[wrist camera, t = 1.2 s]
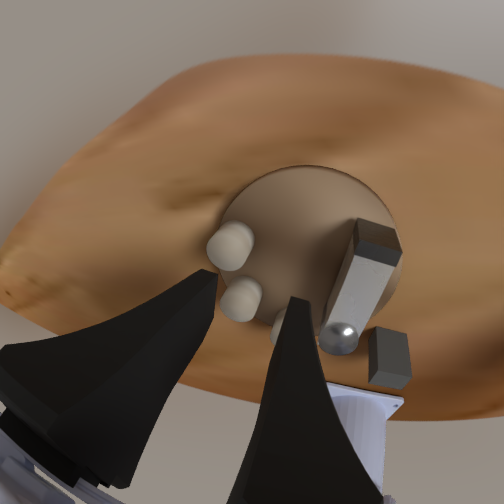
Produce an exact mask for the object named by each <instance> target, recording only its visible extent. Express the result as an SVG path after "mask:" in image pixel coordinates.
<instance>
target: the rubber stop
mask: <svg viewBox="0 0 504 504" xmlns="http://www.w3.org/2000/svg"><path fill="white" fill-rule="evenodd" d="M411 378H412V371H411V362H410V354H409V347H408V340H407V334H405V333H400V332H396V331H392V330H388V329H385V328H381V327H377V326H376V328H375V330H374V331H373V333H372V335H371V337H370V338H369V381H368V383H369V384H374V385H379V386H384V387H389V388H395V389H400V390H402V389H403V388H404V386H405V385H406V384H407V383H408V382H409V381H410V379H411Z"/></svg>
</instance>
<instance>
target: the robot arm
mask: <svg viewBox="0 0 504 504" xmlns="http://www.w3.org/2000/svg"><path fill="white" fill-rule="evenodd" d="M217 281H218V274H216V273H213V272H210V271H207V270H204V269H200V270H199V271H197V272H195V273H194V274H192V275H190V276H189V277H187V278H186V279H184V280H182V281H181V282H179V283H178V284H176V285H174V286H173V287H171V288H169V289H168V290H166V291H164V292H163V293H161V294H159V295H158V296H156V297H154V298H152V299H151V300H149V301H147V302H145V303H143V304H141V305H139V306H137V307H136V308H134V309H132V310H130V311H128V312H126V313H124V314H121V315H119V316H117V317H115V318H112V319H110V320H107V321H105V322H103V323H100V324H97V325H94V326H91V327H88V328H85V329H82V330H79V331H76V332H73V333H69V334H65V335H62V336H58V337H53V338H49V339H44V340H39V341H33V342H25V343H17V344H8V345H5V346H4V347H3V348H2V349H1V350H0V401H1V402H2V403H3V404H4V405H5V406H6V410H5V411H4V412H3V413H1V412H0V504H75V502H74V500H72V499H71V498H70V497H69V496H68V495H66V494H65V493H64V492H62V491H61V490H60V489H58V488H57V487H56V486H54V485H53V484H51V483H50V482H48V481H47V480H45V479H44V478H43V477H41V476H40V475H38V474H37V473H35V471H34V465H35V466H36V467H37V468H39V469H40V470H41V471H42V472H44V473H45V474H46V475H47V476H49V477H50V478H51V479H53V480H54V481H55V482H57V483H58V484H59V485H60V486H62V487H63V488H65V489H66V490H67V491H69V492H70V493H72V494H74V495H75V496H76V497H78V498H79V499H81V500H82V501H84V502H85V503H87V504H124V503H122V502H121V501H119V500H117V499H115V498H113V497H112V496H110V495H108V494H106V493H104V492H103V491H101V490H99V489H98V488H97V486H98V485H99V483H100V484H102V485H103V486H105V487H107V488H109V487H110V485H112V486H114V487H116V488H118V489H124V488H127V487H129V486H130V483H131V481H132V478H133V475H134V473H135V470H136V467H137V465H138V462H139V460H140V457H141V455H142V453H143V450H144V448H145V446H146V443H147V441H148V439H149V436H150V434H151V432H152V430H153V428H154V425H155V423H156V421H157V419H158V417H159V415H160V413H161V410H162V409H163V406H164V404H165V402H166V400H167V398H168V396H169V395H170V393H171V391H172V389H173V388H174V386H175V385H176V383H177V381H178V380H179V378H180V377H181V375H182V374H183V372H184V370H185V369H186V367H187V366H188V364H189V363H190V361H191V359H192V358H193V356H194V355H195V353H196V351H197V350H198V348H199V347H200V345H201V343H202V342H203V340H204V338H205V335H206V333H207V331H208V329H209V327H210V325H211V322H212V320H213V318H214V309H215V299H216V290H217ZM403 403H404V399H403V398H402V397H398V396H392V395H387V394H381V393H376V392H371V391H366V390H361V389H356V388H352V387H347V386H343V385H338V384H334V383H330V382H326V380H325V377H324V373H323V370H322V366H321V363H320V359H319V354H318V350H317V345H316V341H315V336H314V330H313V323H312V314H311V304H310V302H309V301H307V300H304V299H300V298H297V297H293V296H291V297H290V300H289V303H288V306H287V310H286V313H285V316H284V319H283V322H282V325H281V329H280V332H279V335H278V338H277V341H276V344H275V347H274V351H273V354H272V357H271V360H270V363H269V368H268V372H267V377H266V382H265V386H264V391H263V395H262V400H261V404H260V409H259V413H258V418H257V421H256V425H255V428H254V431H253V434H252V437H251V440H250V443H249V446H248V448H247V451H246V454H245V457H244V460H243V462H242V465H241V468H240V470H239V473H238V476H237V478H236V481H235V484H234V486H233V489H232V491H231V493H230V496H229V499H228V501H227V503H226V504H396V501H395V499H393V498H391V495H385V496H384V497H383V496H382V481H383V469H384V455H385V435H386V434H385V433H386V420H387V419H388V418H389V417H390V416H391V415H392V414H393V413H394V412H395V411H396V410H397V409H398V408H399V407H400V406H401V405H402V404H403Z"/></svg>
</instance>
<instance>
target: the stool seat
mask: <svg viewBox="0 0 504 504" xmlns="http://www.w3.org/2000/svg"><path fill="white" fill-rule="evenodd" d="M357 217H359V218H362V219H365V220H368V221H372V222H375V223H378V224H381V225H384V226H388V227H391V228H394V229H395V231H396V234H397V237H398V240H399V243H400V246H401V241H400V236H399V234H398V231H397V228H396V225H395V223H394V220H393V218H392V215H391V214H390V212H389V210H388V208H387V207H386V205H385V204H384V203H383V201H382V200H381V199H380V198H379V196H378V195H377V194H376V193H375V192H374V191H373V190H371V189H370V188H369V187H368V186H367V185H365V184H364V183H363V182H361V181H360V180H358V179H356V178H355V177H353V176H351V175H349V174H347V173H344V172H341V171H339V170H336V169H333V168H328V167H323V166H315V165H299V166H290V167H286V168H281V169H278V170H275V171H272V172H270V173H268V174H266V175H264V176H262V177H260V178H258V179H257V180H255V181H254V182H253V183H251V184H250V185H249V186H248V187H247V188H245V189H244V190H243V191H242V192H241V193H240V194H239V195H238V197H237V198H236V199H235V200H234V201H233V202H232V203H231V205H230V206H229V207H228V209H227V210H226V212H225V214H224V216H223V218H222V220H221V223H220V226H219V229H218V231H217V232H216V233H215V234H214V235H213V236H212V238H211V239H210V240H209V241H208V244H207V255H208V257H209V259H210V261H211V262H212V263H213V264H214V265H215V266H216V267H218V268H219V271H220V273H221V276H222V278H223V281H224V282H225V284H226V286H227V289H226V291H225V293H224V294H223V296H222V298H221V300H220V308H221V310H222V312H223V313H224V314H225V315H226V316H227V317H228V318H230V319H232V320H234V321H237V322H246V321H249V320H251V319H252V318H253V317H254V316H255V317H256V318H257V319H259V320H261V321H262V322H264V323H266V324H268V325H270V326H272V327H273V328H272V331H271V334H270V339H271V342H272V343H273V344H274V345H275V344H276V341H277V338H278V335H279V332H280V329H281V325H282V322H283V319H284V316H285V313H286V310H287V306H288V303H289V300H290V297H291V296H293V297H297V298H300V299H304V300H307V301H309V302H310V304H311V314H312V323H313V330H314V336H319V329H320V323H321V316H322V313H323V307H324V305H325V304H326V303H327V302H328V299H329V297H330V294H331V292H332V289H333V287H334V284H335V281H336V279H337V276H338V274H339V271H340V268H341V266H342V263H343V260H344V257H345V255H346V252H347V249H348V246H349V244H350V241H351V238H352V235H353V229H354V226H355V223H356V220H357ZM401 249H402V246H401ZM402 260H403V257H402V255H401V258H400V260H399V262H398V264H397V266H396V267H395V268H394V270H393V272H392V274H391V276H390V278H389V280H388V282H387V285H386V287H385V289H384V291H383V293H382V295H381V297H380V299H379V301H378V303H377V305H376V307H375V309H374V311H373V312H372V314H371V316H370V318H369V319H371V318H372V317H373V316H375V315H376V314H377V313H378V312H379V311H380V310H381V309H382V308H383V307H384V306H385V305H386V303H387V302H388V301H389V299H390V298H391V296H392V295H393V293H394V291H395V289H396V287H397V284H398V282H399V278H400V274H401V270H402Z"/></svg>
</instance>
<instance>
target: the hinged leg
mask: <svg viewBox="0 0 504 504" xmlns="http://www.w3.org/2000/svg"><path fill="white" fill-rule="evenodd" d="M402 253H403V252H402V249H401V246H400V243H399V240H398V237H397V234H396V231H395V229H394V228H391V227H388V226H384V225H381V224H378V223H375V222H372V221H368V220H365V219H362V218H359V217H357V220H356V223H355V226H354V229H353V235H352V238H351V241H350V244H349V246H348V249H347V252H346V255H345V257H344V260H343V263H342V266H341V268H340V271H339V274H338V276H337V279H336V281H335V284H334V287H333V289H332V292H331V294H330V297H329V299H328V302H327V303H326V304H325V305H324V307H323V313H322V316H321V323H320V329H319V336H318V342H317V344H318V345H319V346H320V347H321V349H322V350H324V351H325V352H327V353H329V354H332V355H345V354H348V353H350V352H352V351H354V350H355V349H356V347H357V346H358V342H359V336H360V335H361V333H362V331H363V329H364V327H365V326H366V324H367V322H368V320H369V318H370V316H371V314H372V312H373V311H374V309H375V307H376V305H377V303H378V301H379V299H380V297H381V295H382V293H383V291H384V289H385V287H386V285H387V282H388V280H389V278H390V276H391V274H392V272H393V270H394V268H395V267H396V266H397V264H398V262H399V260H400V258H401V255H402Z"/></svg>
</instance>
